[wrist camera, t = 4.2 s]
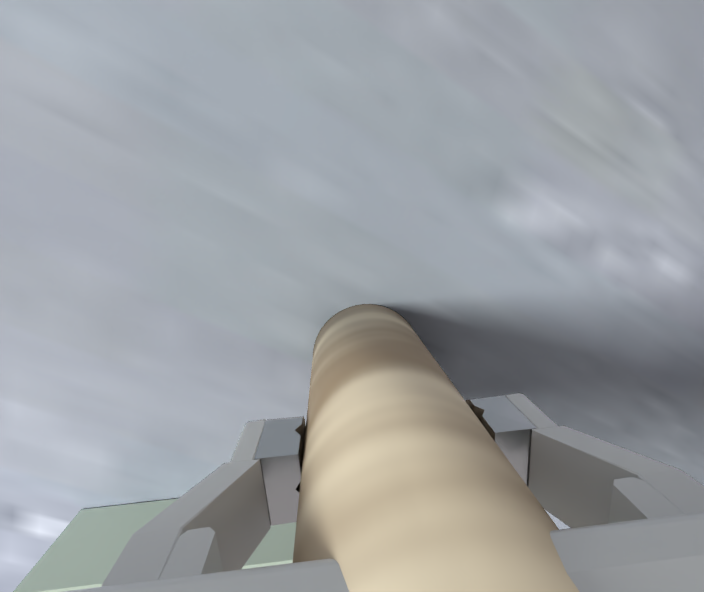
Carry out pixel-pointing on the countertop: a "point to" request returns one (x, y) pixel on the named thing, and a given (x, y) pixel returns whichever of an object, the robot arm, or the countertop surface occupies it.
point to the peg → (410, 474)
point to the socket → (111, 538)
